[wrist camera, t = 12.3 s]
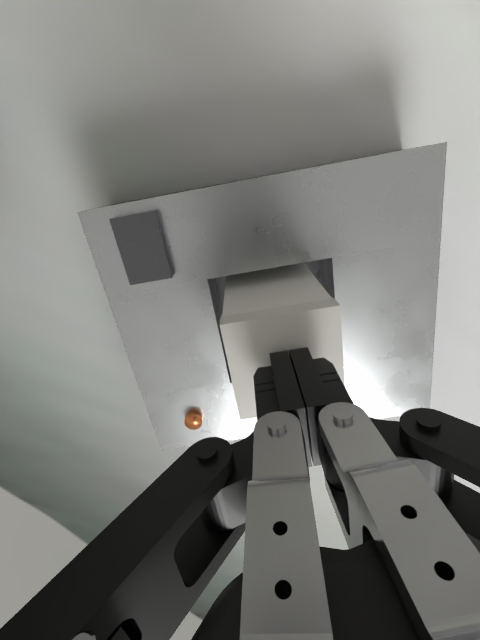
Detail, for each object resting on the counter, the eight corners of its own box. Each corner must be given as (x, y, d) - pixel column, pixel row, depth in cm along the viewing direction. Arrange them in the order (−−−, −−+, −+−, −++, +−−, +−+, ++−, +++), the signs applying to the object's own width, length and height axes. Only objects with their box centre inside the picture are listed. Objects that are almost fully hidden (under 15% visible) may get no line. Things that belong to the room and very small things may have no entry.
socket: (109, 205, 18) (71, 213, 14) (402, 149, 17) (455, 140, 13) (172, 408, 24) (159, 457, 20) (398, 373, 23) (435, 418, 19)
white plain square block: (225, 274, 19) (219, 325, 12) (303, 260, 19) (340, 305, 12) (238, 343, 21) (240, 419, 14) (310, 332, 20) (345, 404, 14)
